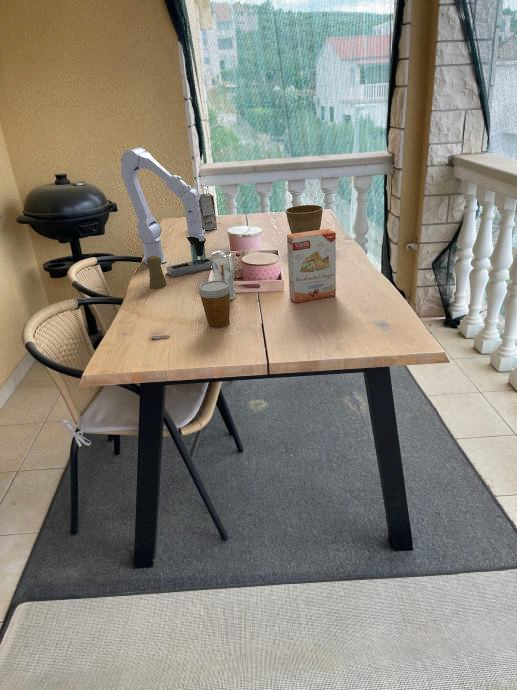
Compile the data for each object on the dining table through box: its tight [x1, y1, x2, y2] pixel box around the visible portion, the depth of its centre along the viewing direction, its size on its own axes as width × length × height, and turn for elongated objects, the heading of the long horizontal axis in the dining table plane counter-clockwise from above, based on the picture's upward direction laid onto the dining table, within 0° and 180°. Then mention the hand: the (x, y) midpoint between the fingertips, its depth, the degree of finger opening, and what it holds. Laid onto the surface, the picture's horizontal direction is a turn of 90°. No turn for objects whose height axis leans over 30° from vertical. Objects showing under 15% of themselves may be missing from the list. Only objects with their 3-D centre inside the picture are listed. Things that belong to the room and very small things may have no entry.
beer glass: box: [211, 250, 237, 301], centre depth 168 cm, size 7×7×15 cm
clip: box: [189, 244, 207, 261], centre depth 208 cm, size 2×5×7 cm, turn 116°
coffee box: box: [198, 192, 218, 231], centre depth 254 cm, size 9×6×16 cm
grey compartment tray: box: [166, 257, 212, 278], centre depth 200 cm, size 6×18×2 cm, turn 116°
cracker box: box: [286, 228, 337, 304], centre depth 161 cm, size 14×6×21 cm, turn 105°
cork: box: [146, 256, 167, 290], centre depth 185 cm, size 6×6×11 cm
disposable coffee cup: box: [197, 279, 231, 329], centre depth 151 cm, size 10×10×12 cm
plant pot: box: [285, 204, 324, 234], centre depth 212 cm, size 15×15×16 cm
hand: (198, 254), depth 208 cm, fingers open, 3 cm apart
